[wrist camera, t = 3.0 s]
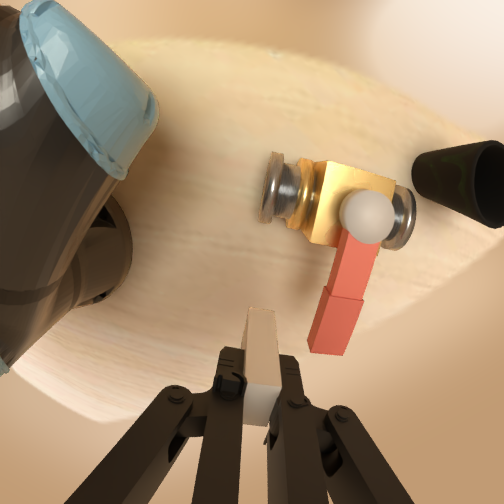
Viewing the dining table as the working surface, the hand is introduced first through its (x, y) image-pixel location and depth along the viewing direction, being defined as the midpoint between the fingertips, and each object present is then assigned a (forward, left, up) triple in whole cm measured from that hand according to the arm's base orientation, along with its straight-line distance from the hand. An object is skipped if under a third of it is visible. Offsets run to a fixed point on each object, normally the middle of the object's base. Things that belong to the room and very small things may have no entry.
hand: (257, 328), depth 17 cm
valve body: (+6, +8, -15) cm, 18 cm away
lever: (+6, +3, -5) cm, 9 cm away
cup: (+18, +14, -15) cm, 27 cm away
